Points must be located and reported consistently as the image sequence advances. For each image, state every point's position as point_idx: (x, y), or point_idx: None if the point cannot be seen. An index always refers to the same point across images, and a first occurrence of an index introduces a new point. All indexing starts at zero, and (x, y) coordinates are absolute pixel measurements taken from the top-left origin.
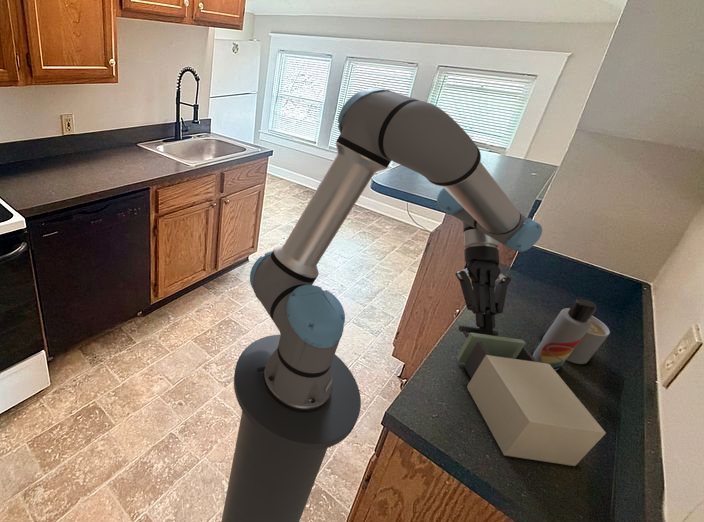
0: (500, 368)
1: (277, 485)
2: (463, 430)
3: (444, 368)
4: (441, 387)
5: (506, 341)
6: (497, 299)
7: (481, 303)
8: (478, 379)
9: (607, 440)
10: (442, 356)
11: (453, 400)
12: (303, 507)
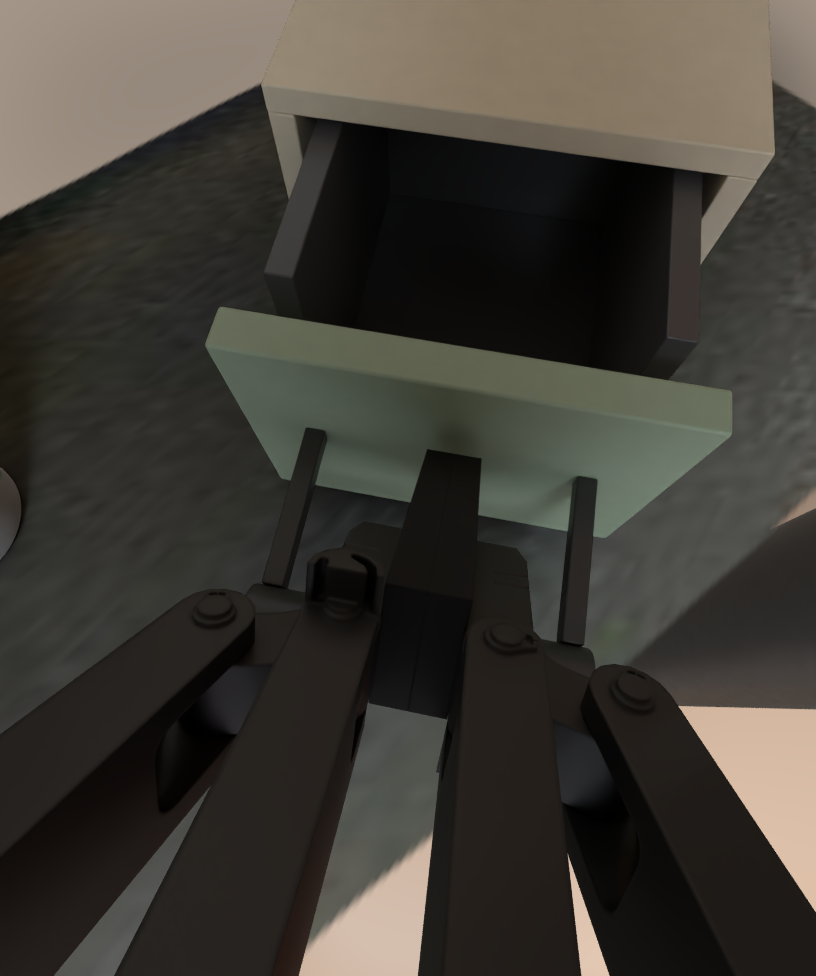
0: (723, 58)
1: None
2: (760, 197)
3: (697, 490)
4: (773, 376)
5: (398, 338)
6: (95, 830)
7: (523, 736)
8: None
9: (141, 149)
10: (665, 581)
11: (740, 312)
12: (788, 525)
